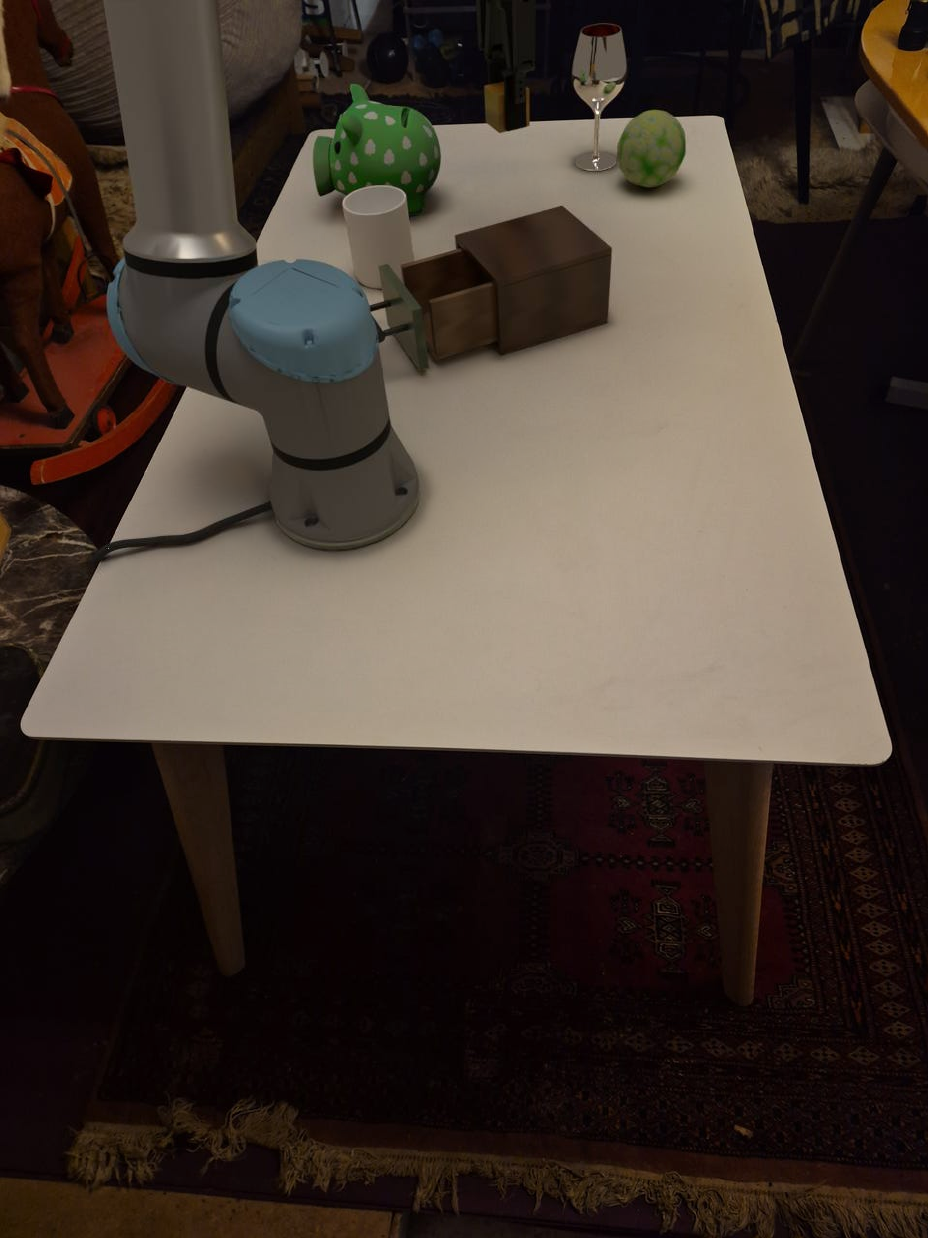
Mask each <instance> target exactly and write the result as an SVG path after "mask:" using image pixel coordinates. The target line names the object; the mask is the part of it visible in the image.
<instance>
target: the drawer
mask: <svg viewBox="0 0 928 1238" xmlns="http://www.w3.org/2000/svg"><path fill="white" fill-rule="evenodd" d="M400 266H401V273H402V281H403V283H402V282H401V280H400V279H399V278H398V276H397V275H396V274H395V272H394V271H393V270H392V269H391V267H390V266H389V265H388V264H385V265H381V266H379V273H380V279H381V285H382V289H381V292H382V297H383V301H379V302H376V303H373V304H369V306H370V310H371V315H372V318H373V320H374V322H375V324H376V330H377V333H378V342H379V344H381V343H383V342H384V341H385V340H386V337H390V336H394V337H396V339H397V340H398V342H399V343H400V345H401V346H402V348H403V349H404V351H405V352H406V353H407V354H408V356H409V358H410V359H411V360H412V362H413V363H414V365H415V367H416V368H417V369H418V370H419V372H421V371H424V370H428V369H430V364H429V356H428V350H429V351H430V353H431V354H432V355H433V356H434V358H435V359H436V361H438V360H441V359H444V358H448V357H450V356H454V355H457V354H460V353H464V352H468V351H470V350H475V349H477V348H480V347H483V346H487V345H491V343H493V342H497V341H498V336H497V316H496V296H495V284H494V283H493V282H492V281H491V280H490V278H489V277H488V276H487V275H486V274H485V273H484V272H483V271H482V270H481V269H480V268H479V266H478V265H477V264H476V263H475V262H474V261H473V260H472V259H471V258H470V257H469V255H468V254H467V253H466V252H465V251H464V250H463V249H462V248H459V249H456V248H455V249H452V250H449V251H448V250H447V251H445V252H441V253H438V254H434V255H430V256H427V257H424V258H421V259H420V258H419V259H417V260H414V261H413V262H409V263H406V264H402V265H400ZM383 309H384V310H385V316H386V317H385V318H386V323H387V326H388V327H389V328H387V329H382V327H381V326H380V324H379V323H378V321H377V320H376V319H375V317H374V315H373V314H372V312H376V311H380V310H383Z"/></svg>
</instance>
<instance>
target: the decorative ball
mask: <svg viewBox="0 0 928 1238" xmlns="http://www.w3.org/2000/svg"><path fill="white" fill-rule="evenodd" d="M686 142H687V141H686V133H685V129H684V128H683V126H682V123H681V122H680V120H678V119H677V117H675V116H674V115H672V114H670V113H669V112H668V111H664V110H659V109H651V110H650V109H649V110H647V111H643V112H642V113H640V114H638V115H636V116H635V117H633V118H631V120H629V122H628V123H627V124H626V125H625V127H624V129H623V131H622V133H621V135H620V137H619V140H618V142H617V147H616V148H617V149H616V151H617V152H616V161H617V163H618V167H619V170H620V171H621V173H622V174H623V175H624V177H625V178H626V179H627V181H629V182H630V183H631V184H633V185H636V186H640V187H643V188H648V189H649V188H656V187H659V186H661V185H663V184H665V183H668V181H670V180H671V179H672V178H673V177H674V176H675V175H676V174H677V173H678V171H679V169H680V167H681V166H682V163H683V161H684V159H685V156H686V154H687V153H686V152H687V143H686Z"/></svg>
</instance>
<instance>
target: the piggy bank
mask: <svg viewBox="0 0 928 1238" xmlns="http://www.w3.org/2000/svg"><path fill="white" fill-rule="evenodd" d="M349 88H350V93H351V94H350V95H351V98H352V103H351V104H350V106H349V107H348V108H347V109H346V110H345V111H344V112H343V113H342V114H340V115H339V119H338V120H337V124H336V126H335V130H334V134H333V137H331V136H325V135H317V137H316V138H315V140H314V143H313V149H312V169H313V177H314V183H315V188H316V191H317V194H318V196H319V197H324V196H326V195H329V194H332V193H333V192H334V191H336V192H338V193H340V194H342V195H345V197H346V196H347V195H349V194H350V193H352V192H354V191H356V190H358V189H361V188H365V187H369V186H378V185H385V186H393V187H396V188H399V189H401V190H402V191H403V192H404V193H405V194H406V199H407V207H408V215H409V217H411V216H418V215H420V214H421V213H422V212H423V210H424V208H425V206H426V196H427V193H428V192H429V191H430V190H431V189H432V188H433V186H434V185H435V182H436V181H437V179H438V175H439V174H440V169H441V162H442V152H441V146H440V140H439V138H438V135H437V131H436V129H435V128H434V126H433V124H432V122H430V120H429V119H428V118H427V117H426V116H425V115H423V113H421V112H419V111H418V110H416V109H414V108H411V107H408V106H401V105H400V106H399V105H398V106H397V105H394V106H393V105H389V104H385V103H381V102H377V101H375V100H370V97H369V96H368V93H367V92H366V90H365V89H364V88H363V87H362V86H361V85H360V84H356V83H351V84H350V85H349Z"/></svg>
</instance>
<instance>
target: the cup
mask: <svg viewBox="0 0 928 1238" xmlns="http://www.w3.org/2000/svg"><path fill="white" fill-rule="evenodd" d="M341 204H342V205H341V206H342V210H343V216H344V222H345V226H346V232H347V237H348V243H349V249H350V254H351V260H352V266H353V272H354V275H355V277H356V280H357V281H358V283H360V284H361V285H362V286H365V287H368V288H370V289H371V288H372V289H378V290H379V289H380V290H382V285H381V279H380V273H379V266H381V265H385V264H388V265H389V266H390V267H391V269H392V270H393V271H394V272H395V274H396V275H397V276H398V278H399V279H400V280H401V282H402V283H403V281H402V273H401V266H400V265H402V264H406V263H409V262H413V261H415V257H414V256H415V255H414V249H413V247H414V246H413V240H412V232H411V225H410V224H411V223H410V216H409V215H408V207H407V199H406V194H405V193H404V192H403V191H402V190H401V189H399V188H396V187H393V186H385V185H378V186H369V187H365V188H361V189H358V190H356V191H354V192H352V193H350V194H349V195H347V196H346V195H345V197H344V198H343V200H342V203H341Z"/></svg>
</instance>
